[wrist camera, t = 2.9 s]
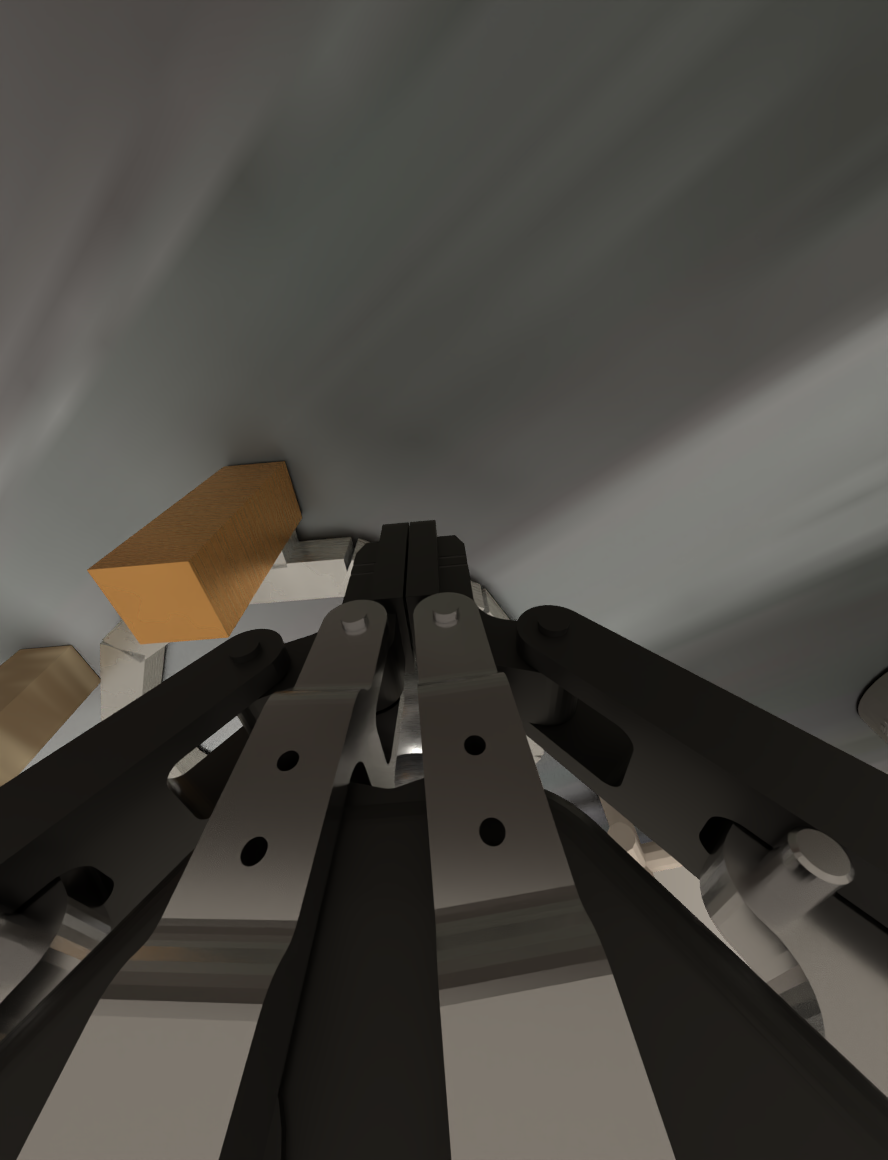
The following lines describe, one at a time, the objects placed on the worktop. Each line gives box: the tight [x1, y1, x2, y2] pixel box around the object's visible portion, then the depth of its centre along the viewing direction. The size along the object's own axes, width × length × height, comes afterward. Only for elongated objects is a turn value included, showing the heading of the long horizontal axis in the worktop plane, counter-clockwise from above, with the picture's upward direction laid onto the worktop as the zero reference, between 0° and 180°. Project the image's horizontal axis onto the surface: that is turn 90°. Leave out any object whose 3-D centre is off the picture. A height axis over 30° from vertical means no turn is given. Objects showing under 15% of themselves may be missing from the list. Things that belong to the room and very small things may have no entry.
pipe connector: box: [599, 796, 682, 878], centre depth 30 cm, size 10×10×10 cm
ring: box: [87, 461, 544, 778], centre depth 22 cm, size 26×30×8 cm
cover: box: [394, 662, 424, 788], centre depth 23 cm, size 8×8×8 cm
